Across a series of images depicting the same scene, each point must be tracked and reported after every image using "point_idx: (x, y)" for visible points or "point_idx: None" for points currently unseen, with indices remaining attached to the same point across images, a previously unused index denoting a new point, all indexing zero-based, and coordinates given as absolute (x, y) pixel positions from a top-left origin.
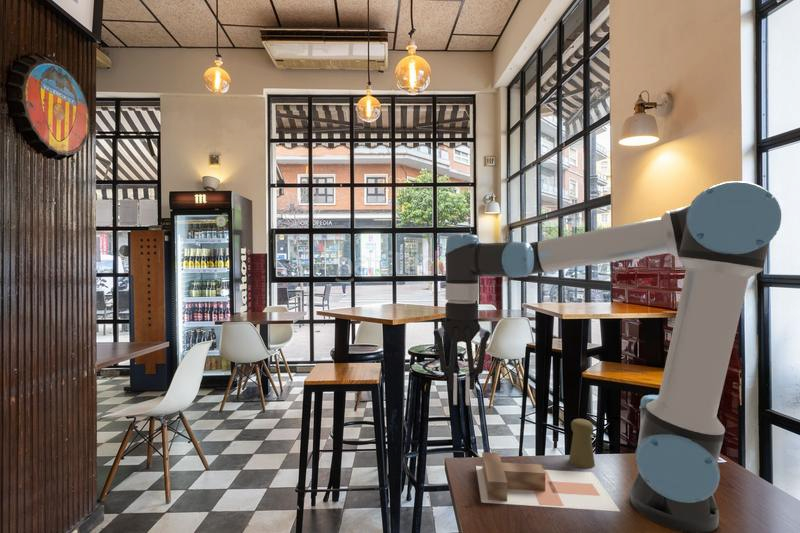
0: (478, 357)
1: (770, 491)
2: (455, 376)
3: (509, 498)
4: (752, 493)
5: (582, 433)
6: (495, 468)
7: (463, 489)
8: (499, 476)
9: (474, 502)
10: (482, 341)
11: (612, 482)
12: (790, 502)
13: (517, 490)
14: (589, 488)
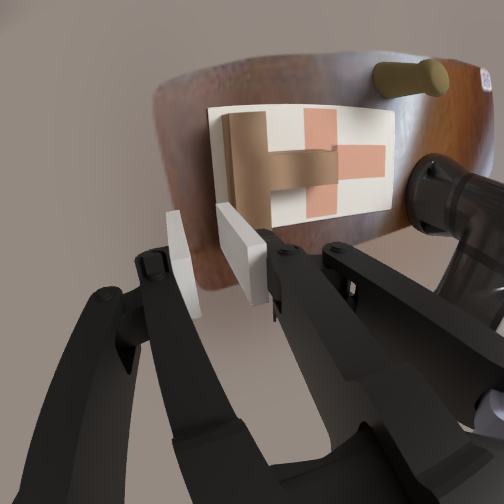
0: (375, 307)
1: (492, 147)
2: (193, 318)
3: None
4: (484, 151)
5: (426, 93)
6: (254, 184)
7: (186, 201)
8: (260, 214)
9: (208, 236)
10: (456, 413)
11: (406, 135)
12: (492, 164)
13: None
14: (379, 158)
